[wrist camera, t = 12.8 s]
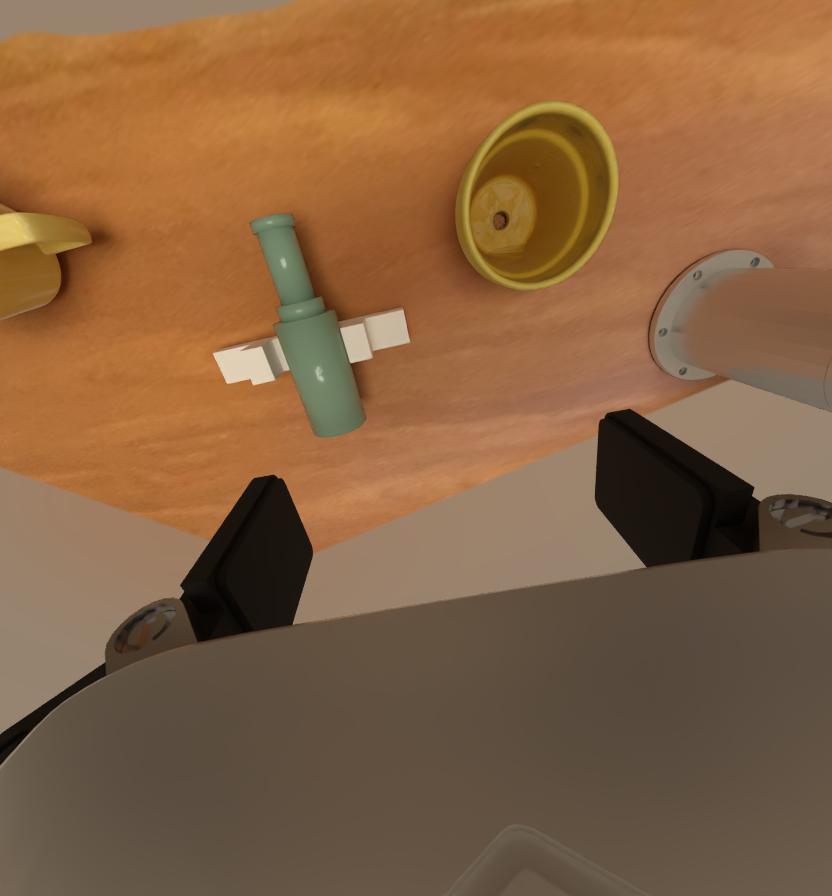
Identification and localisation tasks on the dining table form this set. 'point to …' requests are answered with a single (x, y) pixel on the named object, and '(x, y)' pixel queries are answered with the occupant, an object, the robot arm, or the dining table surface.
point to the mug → (33, 257)
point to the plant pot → (538, 196)
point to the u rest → (269, 361)
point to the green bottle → (309, 334)
